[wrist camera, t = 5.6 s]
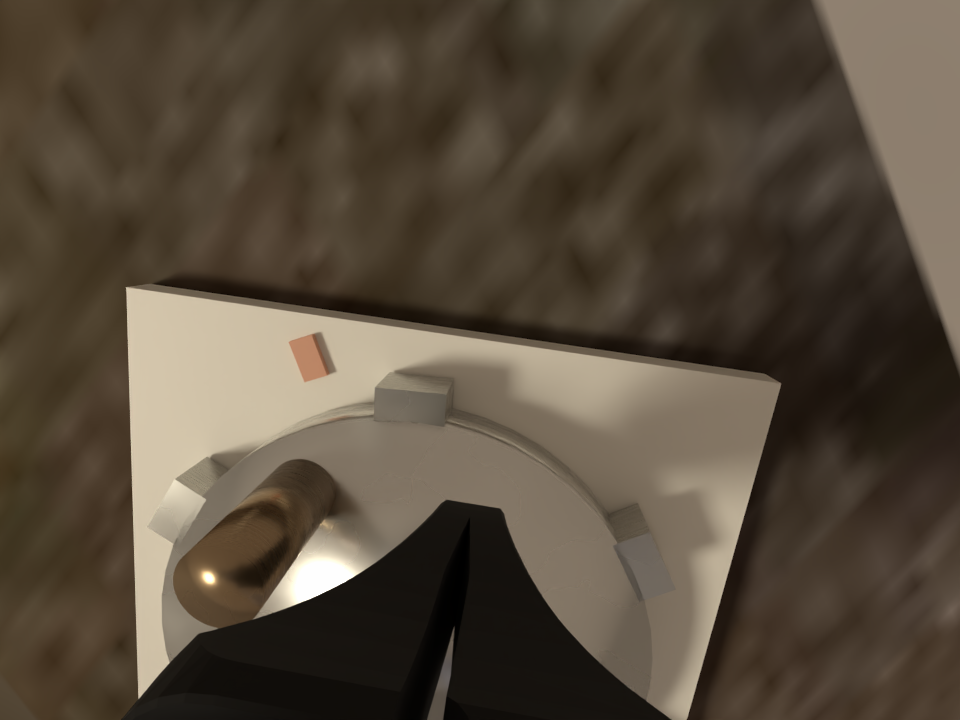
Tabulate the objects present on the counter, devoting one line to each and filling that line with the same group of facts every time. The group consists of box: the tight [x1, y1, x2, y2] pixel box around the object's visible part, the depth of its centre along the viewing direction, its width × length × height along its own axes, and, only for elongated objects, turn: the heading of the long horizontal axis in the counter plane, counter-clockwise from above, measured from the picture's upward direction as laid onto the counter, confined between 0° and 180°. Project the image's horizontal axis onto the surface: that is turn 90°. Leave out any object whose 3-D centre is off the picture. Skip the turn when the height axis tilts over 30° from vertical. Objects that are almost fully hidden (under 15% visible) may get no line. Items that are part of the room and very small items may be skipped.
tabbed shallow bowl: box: [147, 372, 676, 720], centre depth 14 cm, size 14×16×6 cm
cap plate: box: [126, 284, 781, 720], centre depth 17 cm, size 18×18×1 cm
